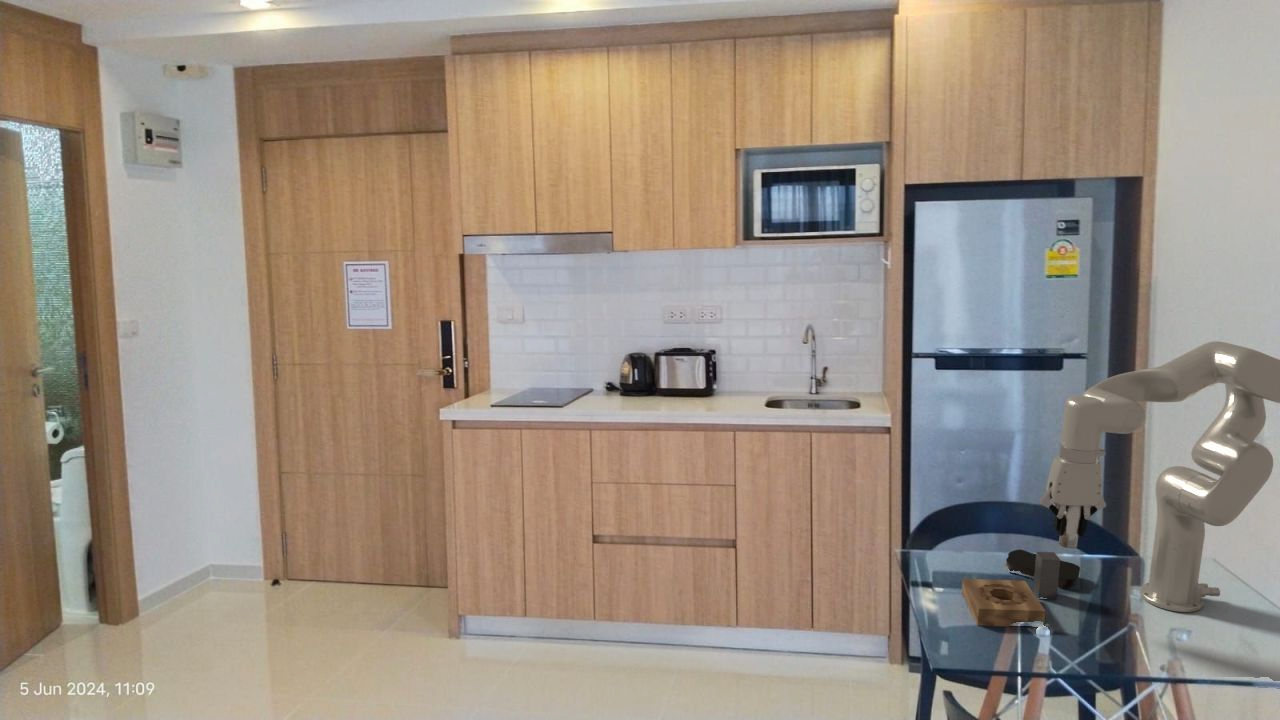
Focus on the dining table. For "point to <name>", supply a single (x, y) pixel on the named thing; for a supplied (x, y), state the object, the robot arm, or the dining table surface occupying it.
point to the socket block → (1001, 602)
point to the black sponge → (1026, 565)
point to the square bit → (1046, 575)
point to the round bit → (1071, 526)
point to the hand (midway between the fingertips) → (1069, 532)
